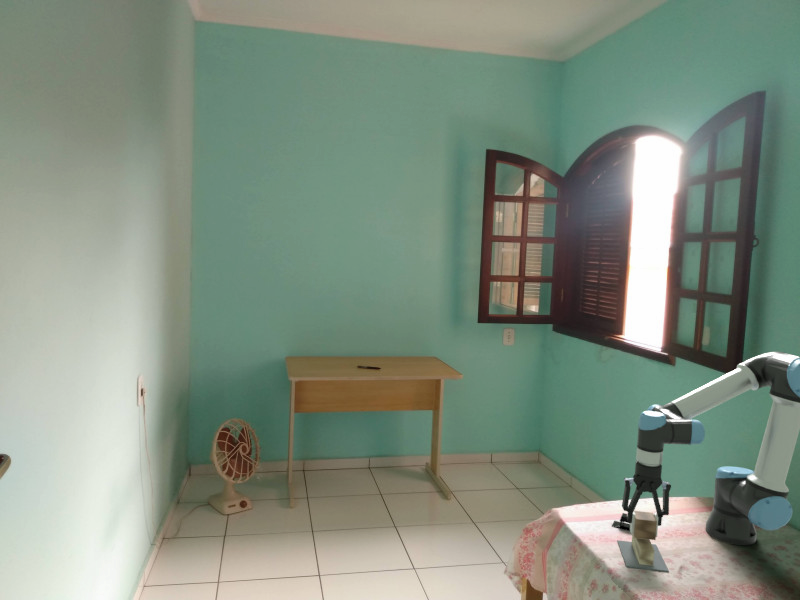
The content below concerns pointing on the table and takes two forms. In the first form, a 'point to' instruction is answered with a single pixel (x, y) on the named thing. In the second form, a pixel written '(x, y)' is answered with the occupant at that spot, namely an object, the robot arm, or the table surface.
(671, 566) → the table surface
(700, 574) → the table surface
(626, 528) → the black plastic holder
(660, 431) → the robot arm
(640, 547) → the plinth
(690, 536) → the table surface
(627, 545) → the mat
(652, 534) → the walnut cube
